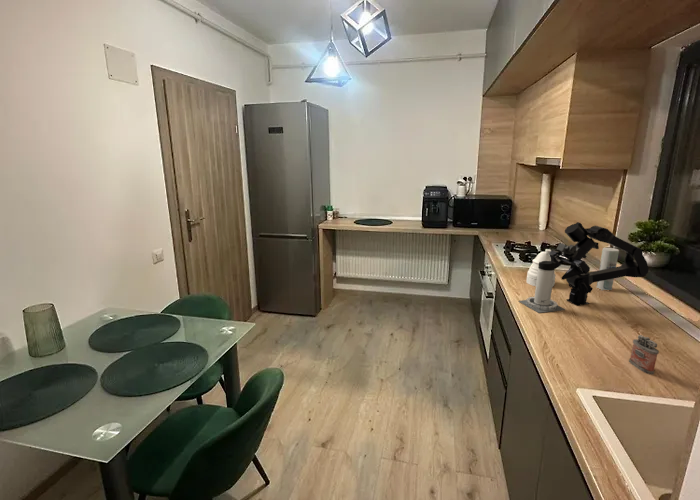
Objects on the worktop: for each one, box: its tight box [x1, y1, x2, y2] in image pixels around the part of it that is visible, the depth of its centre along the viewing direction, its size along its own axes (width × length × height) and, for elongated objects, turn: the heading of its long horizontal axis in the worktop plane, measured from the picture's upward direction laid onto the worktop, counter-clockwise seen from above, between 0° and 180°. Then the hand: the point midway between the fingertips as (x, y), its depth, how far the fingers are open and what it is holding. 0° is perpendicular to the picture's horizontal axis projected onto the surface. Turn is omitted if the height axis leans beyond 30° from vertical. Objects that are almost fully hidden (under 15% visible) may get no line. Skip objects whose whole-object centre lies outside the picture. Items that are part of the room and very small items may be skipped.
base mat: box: [518, 299, 566, 314], centre depth 166 cm, size 13×13×1 cm
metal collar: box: [525, 296, 559, 311], centre depth 165 cm, size 12×12×1 cm
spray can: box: [596, 247, 620, 291], centre depth 182 cm, size 6×6×20 cm
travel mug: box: [533, 261, 556, 306], centre depth 163 cm, size 6×7×20 cm
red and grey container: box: [628, 334, 660, 375], centre depth 117 cm, size 8×3×10 cm, turn 5°
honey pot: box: [526, 248, 556, 288], centre depth 191 cm, size 13×13×18 cm
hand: (554, 275), depth 163 cm, fingers open, 9 cm apart
